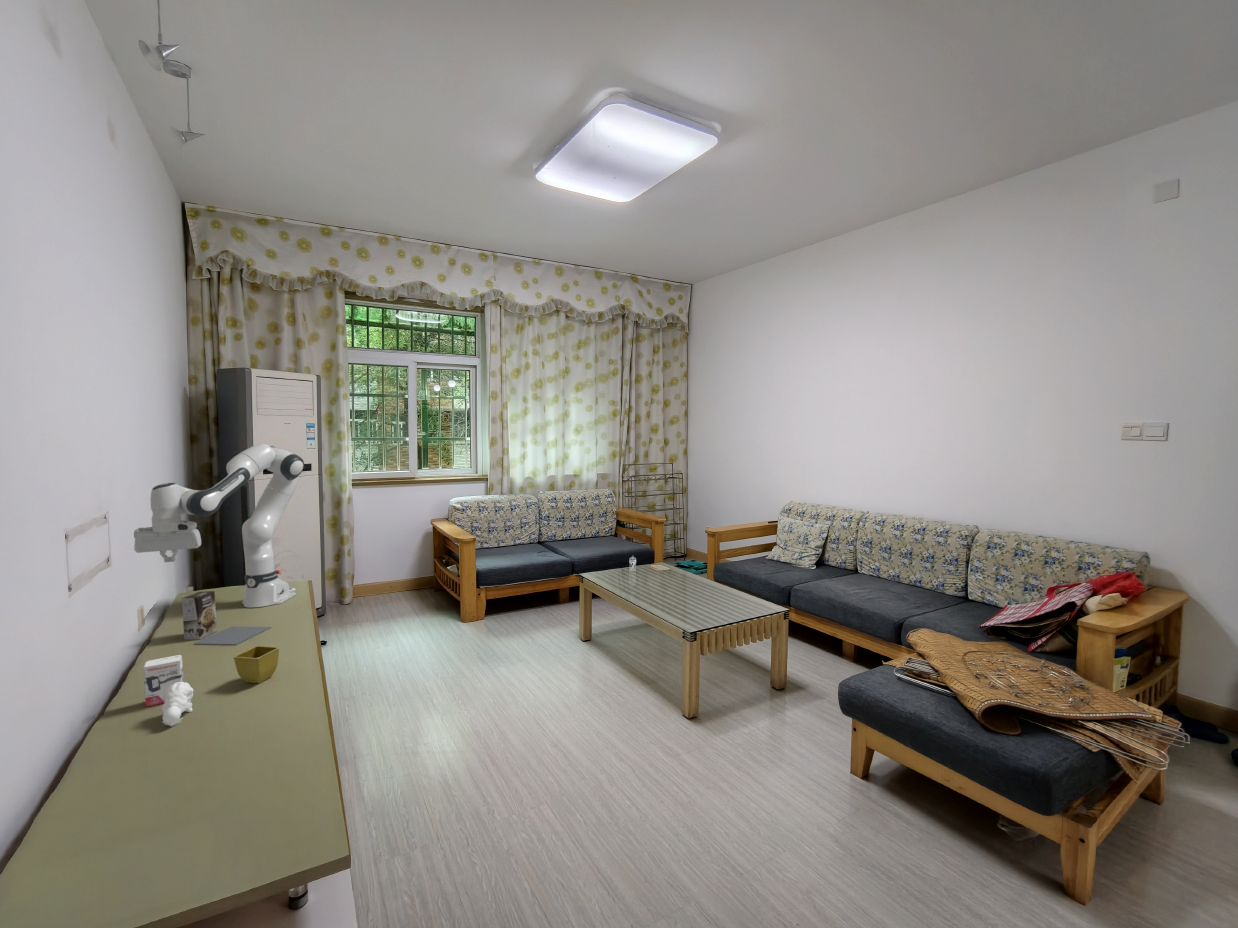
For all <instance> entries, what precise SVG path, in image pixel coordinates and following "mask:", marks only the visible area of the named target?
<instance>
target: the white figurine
mask: <svg viewBox="0 0 1238 928" xmlns="http://www.w3.org/2000/svg"><path fill="white" fill-rule="evenodd" d="M164 697H165V698H166V700H165V703H163V705H162V707H161V710H162V711H161V713H162V714H163V715H162V720H163V721H160V722H161V723H163V724H164V726H169V727H174V725H176V724H179V723H181V722H182V719H184V716H183V717H181V716H182V713H184V712H186V713H191V712H193V708H192V707H193V703H192V702H191V701H192V699H193V697H194V688H193V687H191V685H190V683H188V682H186V681H185V682H177V683H174V684H173V685H171V686H170V687H169V688H168V689H167V691H166V692H165V694H164Z"/></svg>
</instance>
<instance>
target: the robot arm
mask: <svg viewBox="0 0 1238 928" xmlns="http://www.w3.org/2000/svg"><path fill="white" fill-rule="evenodd" d="M225 467H226V472H227V476H226V477H224V478H223V479H222V480H220V481H219V482H218V483H216V484H215V485H214V486H212V487H211V488H208V489H204V490H203V489H202V490H200V489H199V490H197V489H192V488H188V487H184V486H182V485H180V484H177V483H176V482H168V483H161V484H158V485H155V486H154V487H152V489H151V493H150V509H151V511H152V517H151V526H148V527H146V526H145V527H138V528H137V529H135V530H134V531H133V537H134V546H133V547H134V549H133V550H134V552H136V553H137V554H139V553H152V552H159V554H160V556H161V557H162V558H163V562H164V563H172V562H175V561H176V556H177V554H178V553H179V550H192V549H198V548H199V547H201V545H202V537H201V533H200V530H199V529H197V527H198V525H197V522H196V521H190V520H184V519H182V515H183V514H186V515H192V516H193V515H194V516H197V517H201V518H203V517H204V518H205V517H210V516H212V515H214V514H216V512H218V510H219V508H220V507H221V505H222V504H223V502H225V500H226V499H228V498H229V497H230V496H231V495H233V494H234V493H235V492H236V491H238V490H239V489H240V488H241V487H243V486H244V485H245V484H246V483H247V482H248V481H251V480H252V479H253V478H254V477H256V476H257V475H259V474H260V473H261V472H263V471H264V470H267V471H269V472H271V473H272V475H273V476H272V477H271V479H270V481H269V482H268V484H267V485H266V487H265V489H264V490H263V492H262V494H261V496H260V498H259V499H258V501H257V503H256V506H255V508H254V510H253V512H252V515H251V517H250V518H248V519H246V520H245V521H244V522H243V524H242V527H241V536H242V545H243V553H244V554H243V555H244V563H245V564H244V566H245V567H244V568H245V574H244V583H245V585H244V590H243V600H241V601H242V602H241V603H242V605H243V607H244V608H249V609H250V608H261V607H267V606H268V607H269V606H273V605H279V604H280V605H281V604H282V603H285V602H286V601H287V600H290V598H293V597H294V596H296V594H297V593H296V592H295V591H291V589H290V585H289V583H288V582H286V581H285V580H283V579H282V578H279V576H278V575H281V574H282V573H283V572H282V571H283V570H282V569H276V570H275V554H274V549H273V548H274V547H273V541H272V538H273V536H274V533H275V532H276V530H277V527H278V526H279V523H280V520H281V518H282V516H283V513H284V512H285V509H286V508H287V506H288V504H289V502H290V500H291V498H292V496H293V495H294V494H295V491H296V488H297V486H298V483H299V479H300V477H299V476H300V475H301V474H302V473H303V472H304V471H303V470H304V468H305V462H304V459H303V458H302V457H301V456H299V455H298V454H296V453H294V452H293V453H292V452H291V451H289V450H286V449H282V448H279V447H275V446H273V445H272V446H271V445H268V444H266V443H257V444H255V445H253V446H250V447H249V448H246V449H245V450H243V451H241V452H240V453H238V454H237V455H235V456H233V458H231V459H230V460H229V461H228V462H227V464H226V466H225ZM167 551H171V553H172V555H171V556H168V555H167V554H166V553H167Z"/></svg>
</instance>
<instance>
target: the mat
mask: <svg viewBox="0 0 1238 928" xmlns="http://www.w3.org/2000/svg"><path fill="white" fill-rule="evenodd" d="M271 628H272V626H238V625H236V626H234V625H233V626H229V627H228V628H225V629H223V630H221V631H217V632H215V633H213V634H210V635H208V636H206V637H204V638H202V639H199V640H198V641H196V642H194V643H193V645H198V646H201V645H202V646H237V645H239V644H241V643H244V642H246V641H247V640H250V639H251V638H254V637H255V636H258V635H260V634H262V633H264V632H266V631H267V630H270V629H271Z"/></svg>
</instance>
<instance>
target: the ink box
mask: <svg viewBox="0 0 1238 928" xmlns="http://www.w3.org/2000/svg"><path fill="white" fill-rule="evenodd" d="M183 665H184V664H183V656H182V655H181V654H177V655H172V656H168V657H167V656H166V657H162V658H157V659H156V658H155V659H150V660H147V661H146V662H144V665H143V667H142V668H143V682H144V683H143V684H144V696H145V697H144V699H145V707H153V706H157V705H160V704H164V703H165V700H166V698H165V697H164V694H165V692H166V691H167V689H168V688H169V687H170V686H171V685H173V684H174V683H177V682H184V667H183Z"/></svg>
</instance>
